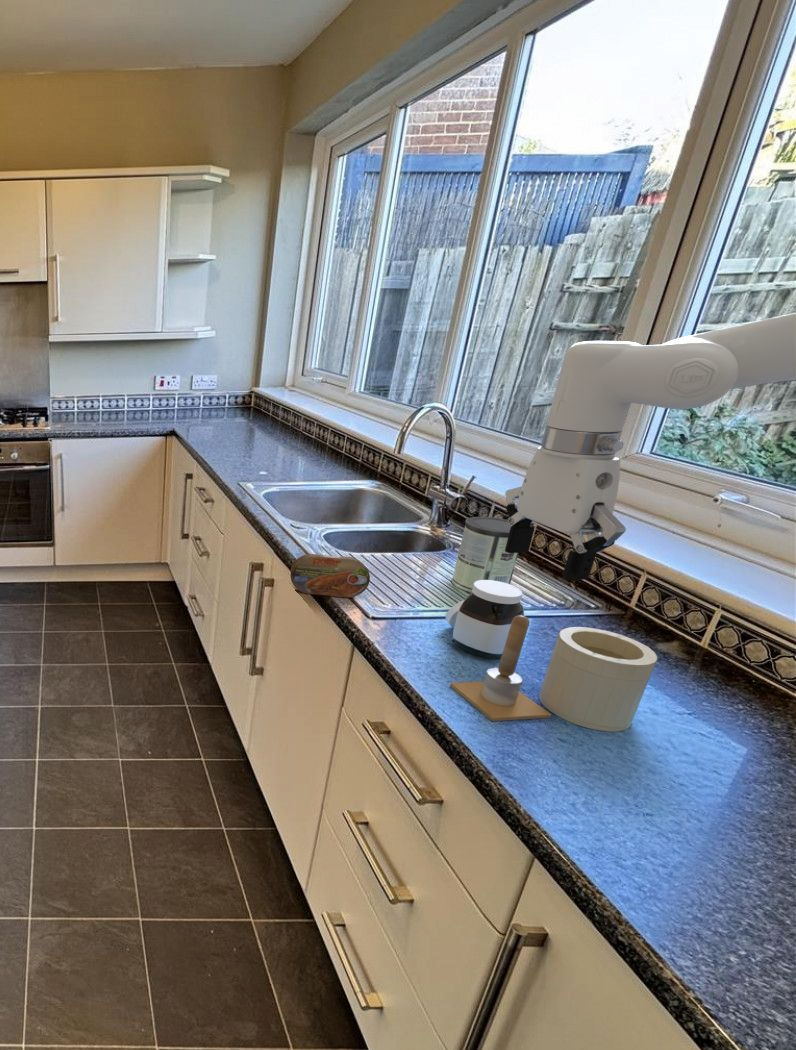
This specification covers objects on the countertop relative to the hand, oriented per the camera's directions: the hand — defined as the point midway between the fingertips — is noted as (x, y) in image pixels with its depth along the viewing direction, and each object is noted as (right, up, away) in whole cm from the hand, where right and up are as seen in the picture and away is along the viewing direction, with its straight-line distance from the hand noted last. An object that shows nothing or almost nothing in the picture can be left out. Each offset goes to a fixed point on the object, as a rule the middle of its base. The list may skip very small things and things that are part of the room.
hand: (543, 564), depth 85 cm
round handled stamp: (0, -21, +8) cm, 22 cm away
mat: (0, -21, +9) cm, 23 cm away
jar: (+11, -22, +6) cm, 25 cm away
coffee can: (+24, -6, +47) cm, 53 cm away
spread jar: (+8, -15, +25) cm, 30 cm away
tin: (-10, -8, +44) cm, 46 cm away
